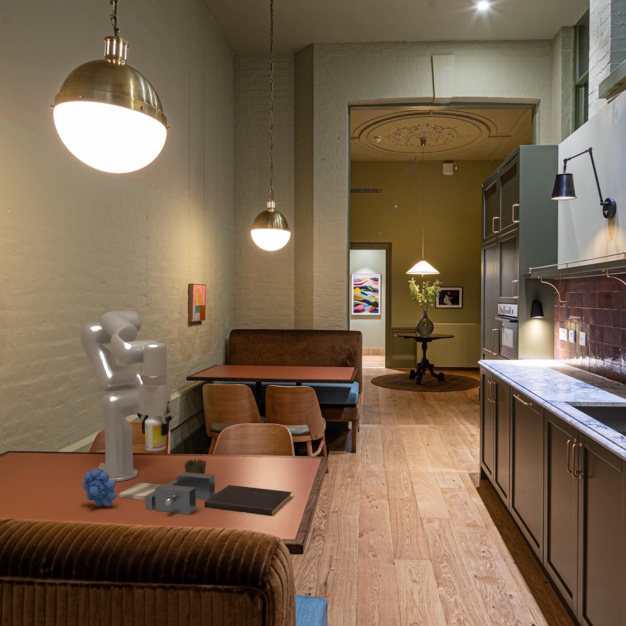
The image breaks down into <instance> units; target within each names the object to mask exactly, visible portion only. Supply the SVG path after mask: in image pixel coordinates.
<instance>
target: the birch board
mask: <svg viewBox="0 0 626 626" xmlns="http://www.w3.org/2000/svg"><path fill="white" fill-rule="evenodd" d="M159 485H160V484H158V483H149V482H140V481H139V482H138V483H136V484H134V485H133V486H130V487H129V488H126V489H125V490H123V491H121V492H119V494H118V497H119V498H123V497H126V498H125V499H132V498H133V499H134V500H141V501H145V496H147V495H148V494H150V493H152V492H153V491H155V488H156V487H158V486H159Z"/></svg>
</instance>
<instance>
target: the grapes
mask: <svg viewBox="0 0 626 626" xmlns="http://www.w3.org/2000/svg"><path fill="white" fill-rule="evenodd" d="M83 477H84V479H83V480H85V481H84V482H83V483H82V489H83V490H84V491H86V492H85V493H86V495H85V498H86V499H87V500H88V501H91V502H92V501H93V503H94V505H95V507H98V508H101V507H103V506H105V507H110V506H111V505H112V502H113V501H114V500H115V499H116V498H117V493H116V491H115V488H116V483H115V482H114V481H112V480H109V475H108V473H106V472H103V471H101V470H98V468H92V470H91V472H89V471H88V472H85V474H84V476H83ZM100 506H101V507H100Z"/></svg>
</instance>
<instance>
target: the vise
mask: <svg viewBox="0 0 626 626" xmlns="http://www.w3.org/2000/svg"><path fill="white" fill-rule="evenodd" d="M215 476H216V475H214V474H206V473H205V474H198V473H188V472H186V471H182V472H180V473H178V474H177V475H176V479H173V480H170V481H169V482H167V483H166V484H165V483H161V484H159V486H158V487H156V488H155V491H153V492H152V493H150V494H148V495H147V496H145V500H144V501H145V502H144V504H145V510H151V511H153V510H154V509H155V511H157V512H158V511H159V512H167V513H175V514H180V515H181V514H183V515H191V514H193V513H195V511H197V503H196V502H197V501H196V499H198V500H205V501H206V500H208V499H209V498H211V497H212V496H214V495H215V494H216V488H215V487H216V485H215V484H216V482H215V481H216V480H215V478H216V477H215Z"/></svg>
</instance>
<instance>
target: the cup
mask: <svg viewBox="0 0 626 626" xmlns="http://www.w3.org/2000/svg"><path fill="white" fill-rule="evenodd" d="M206 467H207V460H205V459H204V460H202V459H199V458H197V459H194V460H193V459H189V460H186V462H185V463H184V468H185V469H184V470H185V471H184V472H188V473H198V474H206Z"/></svg>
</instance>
